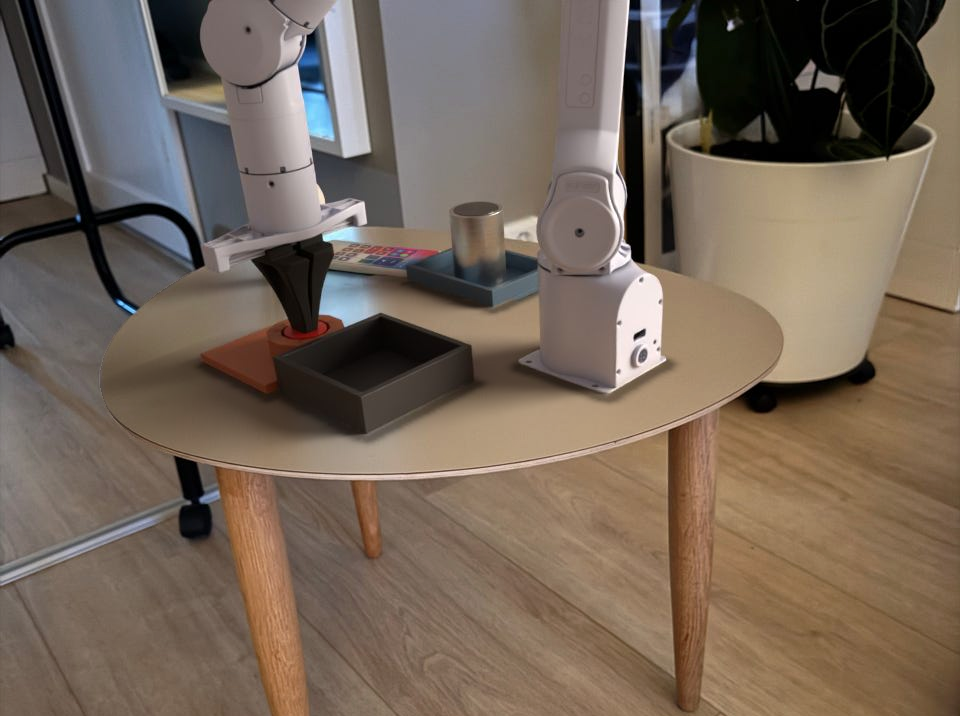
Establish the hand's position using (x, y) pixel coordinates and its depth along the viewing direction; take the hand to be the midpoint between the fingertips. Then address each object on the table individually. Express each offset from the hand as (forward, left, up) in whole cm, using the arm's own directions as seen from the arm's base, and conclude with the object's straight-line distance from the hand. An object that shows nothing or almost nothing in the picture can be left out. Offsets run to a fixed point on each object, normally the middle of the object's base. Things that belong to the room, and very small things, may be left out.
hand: (304, 329), depth 80 cm
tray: (+1, -22, -3) cm, 22 cm away
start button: (0, 0, -2) cm, 1 cm away
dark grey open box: (-9, 0, -3) cm, 9 cm away
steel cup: (+1, -22, -2) cm, 22 cm away
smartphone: (+15, -19, -3) cm, 24 cm away
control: (+2, +2, -3) cm, 4 cm away
